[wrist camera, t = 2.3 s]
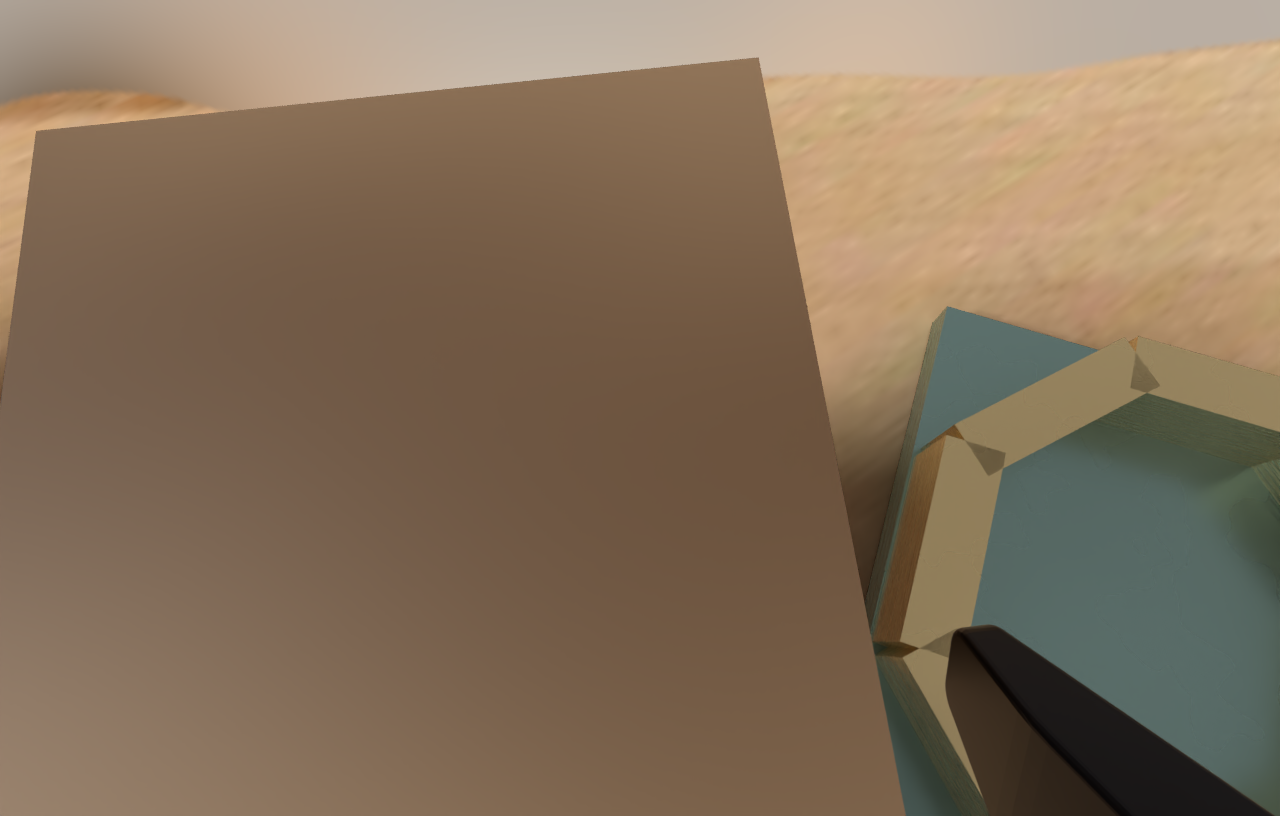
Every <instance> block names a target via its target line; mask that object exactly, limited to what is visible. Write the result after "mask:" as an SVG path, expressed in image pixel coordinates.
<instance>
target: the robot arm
mask: <svg viewBox="0 0 1280 816" xmlns="http://www.w3.org/2000/svg"><path fill="white" fill-rule="evenodd" d="M945 691H946V697H947V701H948V705H949V708H950V710H951V713H952V716H953V718H954V721H955V724H956V727H957V729H958V732H959V735H960V737H961V740H962V743H963V745H964V748H965V751H966V754H967V756H968V759H969V762H970V764H971V767H972V770H973V772H974V775H975V778H976V781H977V783H978V786H979V789H980V791H981V794H982V797H983V799H984V802H985V805H986V808H987V810H988V813H989V816H1275V815H1274V814H1272V813H1271V812H1269V811H1268V810H1266V809H1265V808H1263V807H1262V806H1260V805H1259V804H1258V803H1256V802H1255V801H1253V800H1252V799H1250V798H1249V797H1247V796H1246V795H1244V794H1243V793H1241V792H1240V791H1239V790H1237V789H1236V788H1234V787H1233V786H1231V785H1230V784H1228V783H1227V782H1225V781H1224V780H1222V779H1221V778H1220V777H1218V776H1217V775H1215V774H1214V773H1212V772H1211V771H1209V770H1208V769H1206V768H1205V767H1203V766H1202V765H1201V764H1199V763H1198V762H1196V761H1195V760H1193V759H1192V758H1190V757H1189V756H1187V755H1186V754H1184V753H1183V752H1182V751H1180V750H1179V749H1177V748H1176V747H1174V746H1173V745H1171V744H1170V743H1168V742H1167V741H1165V740H1164V739H1163V738H1161V737H1160V736H1158V735H1157V734H1155V733H1154V732H1152V731H1151V730H1149V729H1148V728H1146V727H1145V726H1144V725H1142V724H1141V723H1139V722H1138V721H1136V720H1135V719H1133V718H1132V717H1130V716H1129V715H1127V714H1126V713H1125V712H1123V711H1122V710H1120V709H1119V708H1117V707H1116V706H1114V705H1113V704H1111V703H1110V702H1108V701H1107V700H1106V699H1104V698H1103V697H1101V696H1100V695H1098V694H1097V693H1095V692H1094V691H1092V690H1091V689H1089V688H1088V687H1087V686H1085V685H1084V684H1082V683H1081V682H1079V681H1078V680H1076V679H1075V678H1073V677H1072V676H1070V675H1069V674H1068V673H1066V672H1065V671H1063V670H1062V669H1060V668H1059V667H1057V666H1056V665H1054V664H1053V663H1051V662H1050V661H1049V660H1047V659H1046V658H1044V657H1043V656H1041V655H1040V654H1038V653H1037V652H1035V651H1034V650H1032V649H1031V648H1030V647H1028V646H1027V645H1025V644H1024V643H1022V642H1021V641H1019V640H1018V639H1016V638H1015V637H1014V636H1012V635H1011V634H1009V633H1008V632H1006V631H1005V630H1003V629H1002V628H1000V627H998V626H995V625H991V624H987V625H979V626H971V627H963V628H959V629H957V630H956V631H955V632H954V633H953V636H952V639H951V645H950V652H949V659H948V666H947V673H946V680H945Z"/></svg>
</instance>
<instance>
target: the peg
mask: <svg viewBox="0 0 1280 816" xmlns="http://www.w3.org/2000/svg"><path fill="white" fill-rule="evenodd" d="M0 816H906V814H905V809H904V804H903V799H902V793H901V788H900V783H899V778H898V773H897V768H896V763H895V757H894V752H893V747H892V742H891V737H890V732H889V727H888V721H887V716H886V711H885V706H884V701H883V696H882V691H881V685H880V680H879V675H878V670H877V665H876V660H875V654H874V649H873V644H872V639H871V634H870V629H869V624H868V618H867V613H866V608H865V603H864V598H863V593H862V588H861V582H860V577H859V572H858V567H857V562H856V557H855V552H854V546H853V541H852V536H851V531H850V526H849V521H848V516H847V510H846V505H845V500H844V495H843V490H842V485H841V480H840V474H839V469H838V464H837V459H836V454H835V449H834V444H833V438H832V433H831V428H830V423H829V418H828V413H827V408H826V402H825V397H824V392H823V387H822V382H821V377H820V372H819V366H818V361H817V356H816V351H815V346H814V341H813V335H812V330H811V325H810V320H809V315H808V310H807V305H806V299H805V294H804V289H803V284H802V279H801V274H800V269H799V263H798V258H797V253H796V248H795V243H794V238H793V233H792V227H791V222H790V217H789V212H788V207H787V202H786V197H785V191H784V186H783V181H782V176H781V171H780V166H779V161H778V155H777V150H776V145H775V140H774V135H773V130H772V125H771V119H770V114H769V109H768V104H767V99H766V94H765V89H764V83H763V78H762V73H761V68H760V63H759V58H749V59H740V60H730V61H720V62H710V63H701V64H691V65H681V66H671V67H662V68H651V69H641V70H631V71H622V72H612V73H602V74H592V75H583V76H572V77H563V78H553V79H543V80H533V81H523V82H514V83H504V84H494V85H484V86H475V87H464V88H455V89H445V90H435V91H425V92H416V93H405V94H395V95H387V96H376V97H366V98H357V99H347V100H337V101H327V102H317V103H307V104H298V105H287V106H278V107H268V108H258V109H248V110H238V111H228V112H218V113H209V114H199V115H189V116H179V117H169V118H159V119H150V120H140V121H130V122H120V123H110V124H100V125H91V126H81V127H71V128H61V129H51V130H41V131H36V137H35V144H34V152H33V159H32V167H31V175H30V182H29V190H28V197H27V205H26V213H25V220H24V228H23V235H22V243H21V251H20V258H19V266H18V273H17V281H16V289H15V296H14V304H13V312H12V319H11V327H10V334H9V342H8V350H7V357H6V365H5V372H4V380H3V388H2V395H1V403H0Z"/></svg>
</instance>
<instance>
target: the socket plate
mask: <svg viewBox="0 0 1280 816" xmlns="http://www.w3.org/2000/svg"><path fill="white" fill-rule="evenodd" d="M865 608H866V613H867V618H868V624H869V629H870V634H871V639H872V644H873V649H874V654H875V660H876V665H877V670H878V675H879V680H880V685H881V691H882V696H883V701H884V706H885V711H886V716H887V721H888V727H889V732H890V737H891V742H892V747H893V752H894V757H895V763H896V768H897V773H898V778H899V783H900V788H901V793H902V799H903V804H904V809H905V814H906V816H989V813H988V810H987V808H986V805H985V802H984V799H983V797H982V794H981V791H980V789H979V786H978V783H977V781H976V778H975V775H974V772H973V770H972V767H971V764H970V762H969V759H968V756H967V754H966V751H965V748H964V745H963V743H962V740H961V737H960V735H959V732H958V729H957V727H956V724H955V721H954V718H953V716H952V713H951V710H950V708H949V705H948V701H947V697H946V691H945V680H946V673H947V666H948V659H949V652H950V645H951V639H952V636H953V633H954V632H955V631H956V630H957V629H959V628H963V627H971V626H979V625H987V624H991V625H995V626H998V627H1000V628H1002V629H1003V630H1005V631H1006V632H1008V633H1009V634H1011V635H1012V636H1014V637H1015V638H1016V639H1018V640H1019V641H1021V642H1022V643H1024V644H1025V645H1027V646H1028V647H1030V648H1031V649H1032V650H1034V651H1035V652H1037V653H1038V654H1040V655H1041V656H1043V657H1044V658H1046V659H1047V660H1049V661H1050V662H1051V663H1053V664H1054V665H1056V666H1057V667H1059V668H1060V669H1062V670H1063V671H1065V672H1066V673H1068V674H1069V675H1070V676H1072V677H1073V678H1075V679H1076V680H1078V681H1079V682H1081V683H1082V684H1084V685H1085V686H1087V687H1088V688H1089V689H1091V690H1092V691H1094V692H1095V693H1097V694H1098V695H1100V696H1101V697H1103V698H1104V699H1106V700H1107V701H1108V702H1110V703H1111V704H1113V705H1114V706H1116V707H1117V708H1119V709H1120V710H1122V711H1123V712H1125V713H1126V714H1127V715H1129V716H1130V717H1132V718H1133V719H1135V720H1136V721H1138V722H1139V723H1141V724H1142V725H1144V726H1145V727H1146V728H1148V729H1149V730H1151V731H1152V732H1154V733H1155V734H1157V735H1158V736H1160V737H1161V738H1163V739H1164V740H1165V741H1167V742H1168V743H1170V744H1171V745H1173V746H1174V747H1176V748H1177V749H1179V750H1180V751H1182V752H1183V753H1184V754H1186V755H1187V756H1189V757H1190V758H1192V759H1193V760H1195V761H1196V762H1198V763H1199V764H1201V765H1202V766H1203V767H1205V768H1206V769H1208V770H1209V771H1211V772H1212V773H1214V774H1215V775H1217V776H1218V777H1220V778H1221V779H1222V780H1224V781H1225V782H1227V783H1228V784H1230V785H1231V786H1233V787H1234V788H1236V789H1237V790H1239V791H1240V792H1241V793H1243V794H1244V795H1246V796H1247V797H1249V798H1250V799H1252V800H1253V801H1255V802H1256V803H1258V804H1259V805H1260V806H1262V807H1263V808H1265V809H1266V810H1268V811H1269V812H1271V813H1272V814H1274V815H1275V816H1280V377H1279V376H1276V375H1272V374H1269V373H1265V372H1262V371H1258V370H1255V369H1251V368H1248V367H1244V366H1241V365H1237V364H1234V363H1230V362H1227V361H1223V360H1220V359H1216V358H1213V357H1209V356H1206V355H1202V354H1199V353H1195V352H1192V351H1188V350H1185V349H1181V348H1178V347H1174V346H1171V345H1167V344H1164V343H1160V342H1157V341H1153V340H1150V339H1146V338H1143V337H1139V336H1138V337H1136V338H1135V339H1133V340H1131V341H1130V342H1128V341H1127V340H1126V338H1125V337H1124V338H1122V339H1120V340H1118V341H1116V342H1114V343H1112V344H1110V345H1108V346H1106V347H1104V348H1102V349H1100V350H1096V349H1093V348H1089V347H1086V346H1082V345H1079V344H1075V343H1072V342H1068V341H1065V340H1062V339H1058V338H1055V337H1051V336H1048V335H1044V334H1041V333H1037V332H1034V331H1031V330H1027V329H1024V328H1020V327H1017V326H1013V325H1010V324H1006V323H1003V322H999V321H996V320H993V319H989V318H986V317H982V316H979V315H975V314H972V313H968V312H965V311H961V310H958V309H955V308H951V307H948V306H947V307H946V309H945V310H944V311H943V312H942V313H941V314H940V315H939V316H938V317H937V319H936V320H935V321H934V322H933V323H932V328H931V332H930V336H929V340H928V344H927V348H926V352H925V357H924V361H923V365H922V369H921V373H920V377H919V381H918V386H917V390H916V394H915V398H914V402H913V406H912V410H911V414H910V419H909V423H908V427H907V431H906V435H905V439H904V443H903V448H902V452H901V456H900V460H899V464H898V468H897V472H896V477H895V481H894V485H893V489H892V493H891V497H890V501H889V505H888V510H887V514H886V518H885V522H884V526H883V530H882V534H881V539H880V543H879V547H878V551H877V555H876V559H875V563H874V568H873V572H872V576H871V580H870V584H869V588H868V592H867V597H866V601H865Z"/></svg>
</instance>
